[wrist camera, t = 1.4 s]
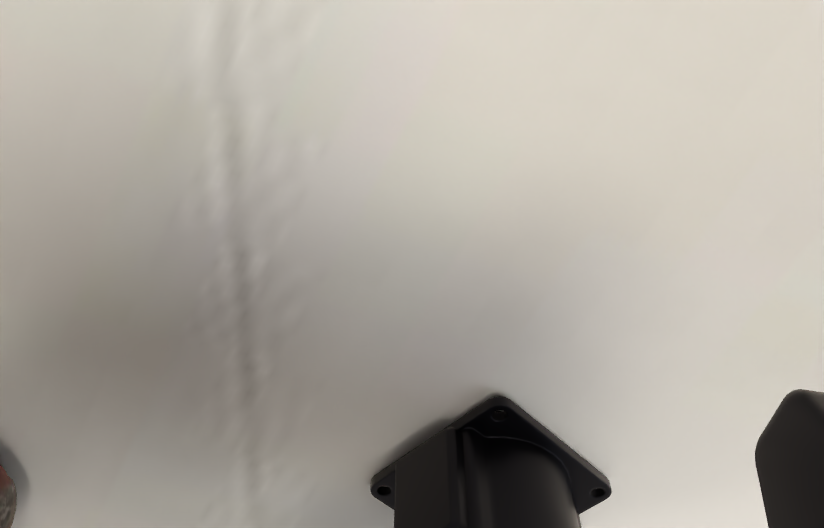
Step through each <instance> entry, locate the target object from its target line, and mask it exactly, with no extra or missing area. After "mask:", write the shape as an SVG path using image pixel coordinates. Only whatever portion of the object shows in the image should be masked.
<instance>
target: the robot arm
mask: <svg viewBox="0 0 824 528" xmlns="http://www.w3.org/2000/svg"><path fill="white" fill-rule="evenodd" d="M497 410H503V411H502V412H495V411H497ZM755 462H756V468H757V473H758V478H759V482H760V487H761V492H762V497H763V502H764V507H765V512H766V516H767V521H768V526H769V528H824V393H823V392H816V391H809V390H802V389H798V390H793V391H792V392H790V393H789V394H787V395H786V397H785V398H784V399H783V401H782V402H781V404H780V406H779V407H778V409H777V410H776V412H775V414H774V415H773V417H772V418H771V420H770V422H769V423H768V425H767V426H766V428H765V430H764V431H763V433H762V434H761V436H760V438H759V440H758V442H757V446H756V451H755ZM383 486H387V487H383ZM371 494H372V495H373V496H374V497H375V498H377V499H378V500H380V501H381V502H383V503H384V504H386V505H388V506H389V507H391V508H392V509H394V510H395V511H394V528H581V523H580V518H579V514H580V513H582V512H584V511H586V510H587V509H589V508H591V507H593V506H595V505H596V504H598V503H600V502H602V501H604V500H605V499H607V498H608V497H609V496H610V495H611V486H610V483H609V480H608V479H607V477H605V476H604V475H603V474H602V473H600V472H599V471H598V470H597V469H595V468H594V467H593V466H592V465H590V464H589V463H588V462H587V461H585V460H584V459H583V458H582V457H580V456H579V455H578V454H577V453H575V452H574V451H573V450H572V449H570V448H569V447H568V446H567V445H566V444H564V443H563V442H562V441H561V440H559V439H558V438H557V437H556V436H554V435H553V434H552V433H551V432H549V431H548V430H547V429H546V428H544V427H543V426H542V425H541V424H539V423H538V422H537V421H536V420H534V419H533V418H532V417H531V416H530V415H528V414H527V413H526V412H525V411H523V410H522V409H521V408H520V407H518V406H517V405H516V404H515V403H513V402H512V401H511V400H510V399H508V398H506V397H501V396H498V397H493V398H491V399H488V400H487V401H485V402H484V403H482V404H481V405H479V406H478V407H477V408H475V409H474V410H472V411H471V412H469V413H468V414H466V415H465V416H463V417H462V418H460V419H459V420H457V421H456V422H454V423H453V424H451V425H450V426H448V427H447V428H445V429H444V430H442V431H441V432H439V433H438V434H436V435H435V436H433V437H432V438H430V439H429V440H427V441H426V442H424V443H423V444H421V445H420V446H418V447H417V448H415V449H414V450H412V451H411V452H409V453H408V454H406V455H405V456H403V457H402V458H400V459H399V460H397V461H396V462H394V463H393V464H391V465H390V466H388V467H387V468H385V469H384V470H382V471H381V472H379V473H378V474H376V475H375V476H374V477H373V478H372V480H371Z"/></svg>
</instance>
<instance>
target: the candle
mask: <svg viewBox="0 0 824 528" xmlns="http://www.w3.org/2000/svg"><path fill="white" fill-rule="evenodd" d="M16 505H17V494H16V489H15V485H14V482H13V480H12V479H11V478H10V477H9V476H8V475H7V473H6V471H5V470H4V469H3V467H2V466H1V465H0V528H11V525H12V523H13V519H14V514H15V511H16Z"/></svg>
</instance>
